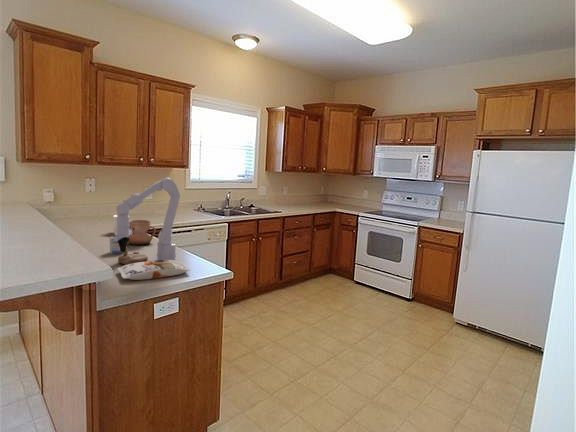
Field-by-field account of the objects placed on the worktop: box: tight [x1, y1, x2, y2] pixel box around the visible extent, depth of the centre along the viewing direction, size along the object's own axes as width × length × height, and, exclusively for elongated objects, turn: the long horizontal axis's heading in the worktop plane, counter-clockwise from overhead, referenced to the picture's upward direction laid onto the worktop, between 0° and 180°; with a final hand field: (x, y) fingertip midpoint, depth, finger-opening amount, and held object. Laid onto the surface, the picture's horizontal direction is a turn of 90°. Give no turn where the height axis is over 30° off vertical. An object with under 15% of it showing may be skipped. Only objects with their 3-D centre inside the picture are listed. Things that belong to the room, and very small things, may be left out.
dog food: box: [117, 259, 191, 281], centre depth 168 cm, size 30×18×5 cm, turn 125°
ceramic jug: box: [127, 219, 157, 246], centre depth 220 cm, size 18×14×14 cm
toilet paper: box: [112, 214, 131, 235], centre depth 245 cm, size 10×10×12 cm
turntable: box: [117, 246, 149, 265], centre depth 182 cm, size 14×14×6 cm
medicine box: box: [109, 236, 123, 255], centre depth 198 cm, size 8×4×9 cm, turn 126°
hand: (123, 251), depth 183 cm, fingers closed
